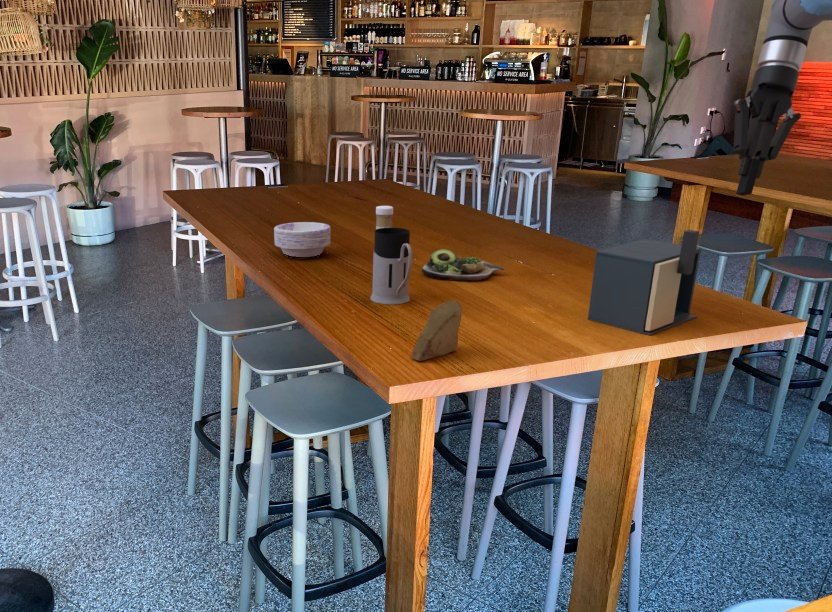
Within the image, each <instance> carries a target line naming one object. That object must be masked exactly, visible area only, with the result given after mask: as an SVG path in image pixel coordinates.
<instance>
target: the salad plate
mask: <svg viewBox="0 0 832 612" xmlns="http://www.w3.org/2000/svg"><path fill="white" fill-rule="evenodd" d="M504 270H506V268H505V267H502V266H498V265H494V264H492V263H490V262H488V261H485V259H483V260H481V257H475V256H466V257H462V258H458V257H457V254H456V253H455V252H453V250H450V249H446V248H441V249H436V250H435V251H433V252H432V253H431V254H430V259H429V261H428V262H427V263H425V264H424V266H423V267H422V268H421V272H422V273H423V274H424V276H426V277H427V276H429V277H428V278H430V277H433V278H432V279H435V278H440V279H439V280H446V279H452V280H451V281H462V280H477V281H483V280H482V279H484V280H487V279H488V278H489V277H490V276H491V275H492V274H493V273H494V272H498V271H504ZM486 278H487V279H486Z"/></svg>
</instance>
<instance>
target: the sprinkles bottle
mask: <svg viewBox="0 0 832 612" xmlns="http://www.w3.org/2000/svg"><path fill="white" fill-rule="evenodd" d="M393 215H394V207H393V206H391V205H377V206H376V207H375V216H376V217H375V218H376V220H375V230H376V229H380V228H393V217H394V216H393Z"/></svg>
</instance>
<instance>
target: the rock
mask: <svg viewBox="0 0 832 612" xmlns="http://www.w3.org/2000/svg"><path fill="white" fill-rule="evenodd" d="M462 309H463V308H462V305H461V304H460V302H459V300H455V301H453V300H448V301H445V302H443V303H441V304H440V305H437V307H435V308H433V309H431V310H430V311H429V316H428V319H427V321H426V323H425V325H424V327H423V330H422V332H420V334H419V336H418V337H417V340H416V343H415V346H414V348H413V349H412V352H411V354H410V358H412V359H413V360H416V361H417V362H423V361H426V360H430V359H434V358H437V357H440V356H445V355H447V354H449V353H453V352H456V351H457V349H458V344H459V329H460V326H461V321H462Z"/></svg>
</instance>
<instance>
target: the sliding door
mask: <svg viewBox="0 0 832 612" xmlns="http://www.w3.org/2000/svg"><path fill="white" fill-rule="evenodd" d="M699 236H700V231H699V230H694V229H687V230H684V231H683V235H682V240H681V245H682V246H681V252H680V257H679V258H675V259H672V260H668V261H665V262H661V263H658V264H655V269H654V276H653V282H652V288H651V295H650V301H649V307H648V314H647V320H646V326H645V330H647V331H651V330H654V329H657V328H659V327H662V326H665V325H667V324H670V323H672V322H673V320H674V314H675V308H676V303H677V297H678V291H679V285H680V279H681V274H685V275H688V274H691V273H692V270H693V265H694V259H695V253H696V248H698V243H699Z"/></svg>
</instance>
